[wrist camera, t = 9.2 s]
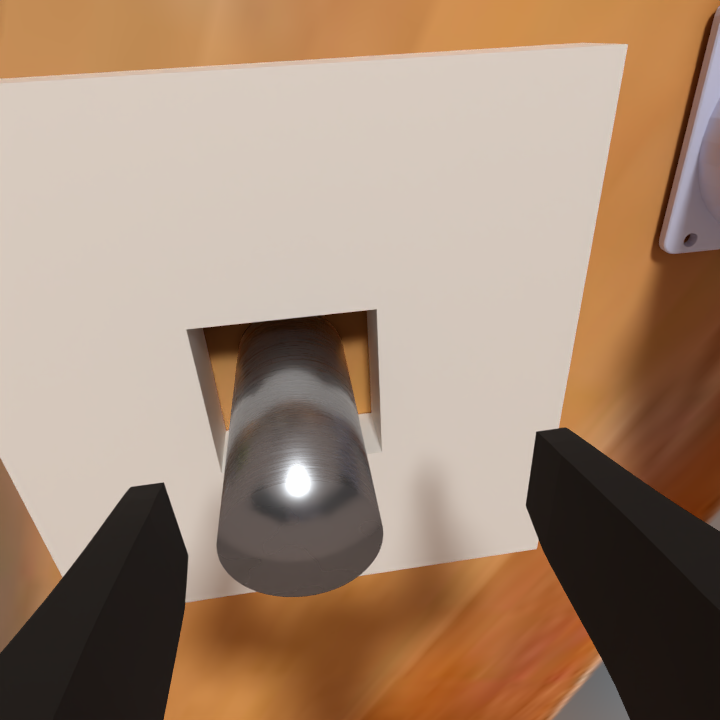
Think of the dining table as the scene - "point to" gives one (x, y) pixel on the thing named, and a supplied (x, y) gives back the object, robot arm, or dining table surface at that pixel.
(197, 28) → the dining table surface
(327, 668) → the dining table surface
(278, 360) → the long pin
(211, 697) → the dining table surface
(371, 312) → the hole plate
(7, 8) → the dining table surface
